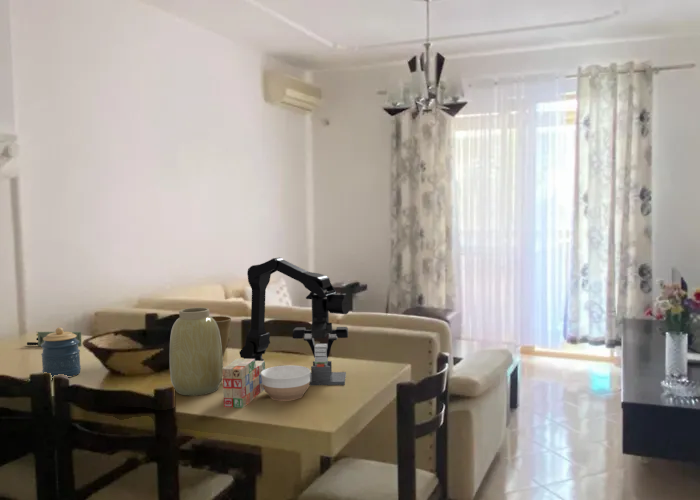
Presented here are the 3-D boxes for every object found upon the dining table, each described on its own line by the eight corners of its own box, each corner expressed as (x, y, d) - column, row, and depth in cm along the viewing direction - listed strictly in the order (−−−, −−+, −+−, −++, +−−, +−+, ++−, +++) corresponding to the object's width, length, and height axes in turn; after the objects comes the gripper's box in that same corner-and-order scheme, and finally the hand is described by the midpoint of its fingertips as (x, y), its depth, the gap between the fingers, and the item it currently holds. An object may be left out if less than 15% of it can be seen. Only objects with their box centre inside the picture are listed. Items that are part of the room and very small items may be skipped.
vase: (179, 382, 225) (176, 306, 223) (228, 382, 225) (225, 305, 223) (163, 398, 208) (160, 314, 206) (217, 397, 208) (213, 314, 206)
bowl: (316, 400, 203) (316, 375, 202) (265, 405, 198) (264, 380, 198) (305, 386, 218) (304, 363, 217) (257, 391, 214) (257, 367, 213)
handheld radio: (78, 347, 286) (25, 347, 288) (82, 346, 289) (29, 345, 292) (78, 332, 285) (24, 332, 288) (82, 331, 289) (29, 331, 291)
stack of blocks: (248, 387, 219) (247, 351, 218) (266, 388, 217) (265, 351, 216) (223, 407, 198) (222, 367, 197) (242, 408, 196) (241, 368, 196)
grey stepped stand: (297, 385, 219) (296, 365, 218) (301, 375, 231) (300, 356, 230) (344, 385, 218) (344, 364, 218) (345, 375, 230) (345, 355, 230)
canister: (80, 368, 248) (77, 323, 246) (82, 376, 236) (79, 328, 235) (42, 373, 242) (39, 326, 241) (42, 381, 231) (39, 332, 229)
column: (315, 371, 220) (314, 347, 220) (316, 367, 225) (315, 343, 225) (327, 371, 220) (326, 347, 219) (328, 367, 225) (327, 343, 225)
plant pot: (239, 358, 259) (238, 318, 257) (205, 365, 249) (203, 323, 248) (221, 352, 270) (219, 314, 269) (187, 358, 260) (186, 319, 259)
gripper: (290, 317, 214) (291, 363, 215) (346, 316, 213) (347, 363, 214) (293, 311, 225) (295, 355, 226) (347, 310, 224) (348, 354, 225)
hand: (321, 357), depth 223 cm, fingers closed on column, 4 cm apart
